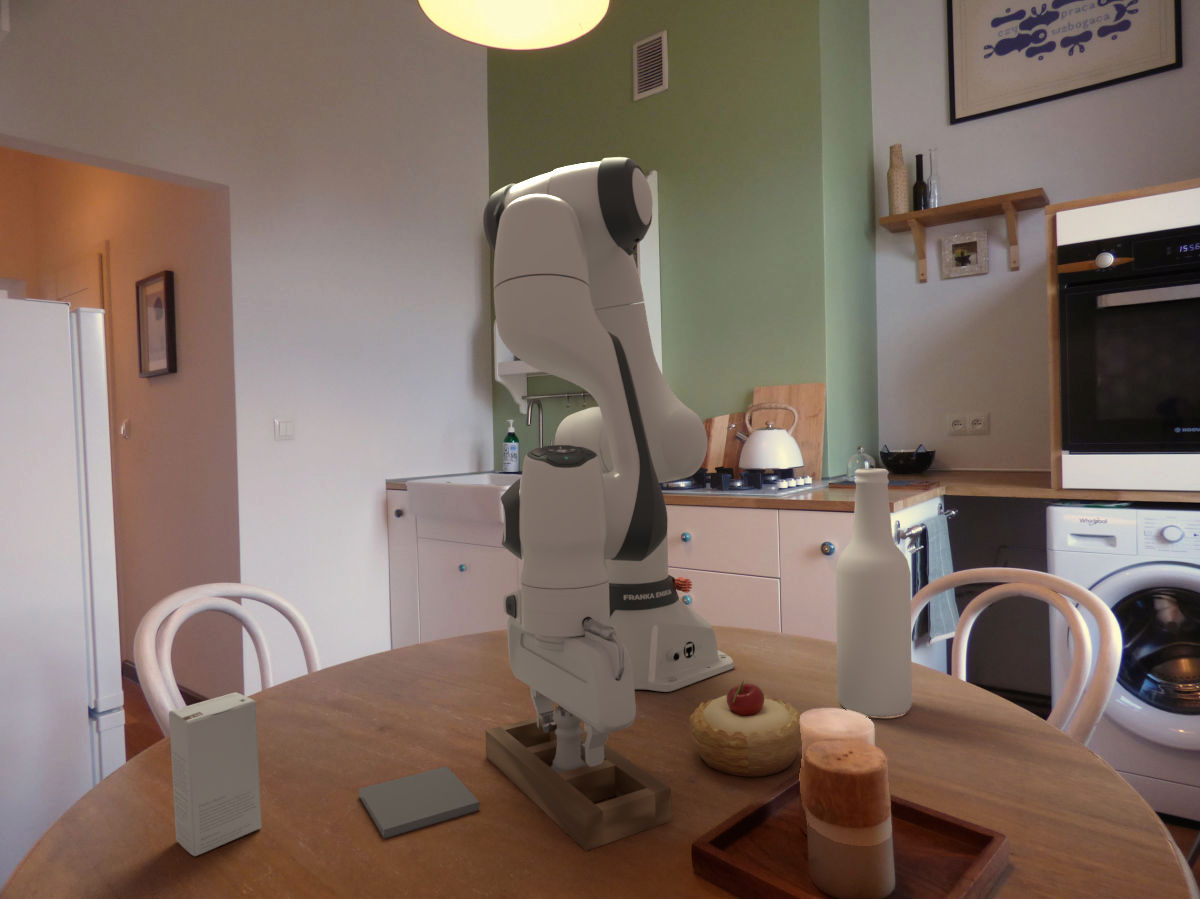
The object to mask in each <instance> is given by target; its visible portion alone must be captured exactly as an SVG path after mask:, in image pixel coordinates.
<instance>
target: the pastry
mask: <svg viewBox="0 0 1200 899" xmlns="http://www.w3.org/2000/svg"><path fill="white" fill-rule="evenodd" d="M744 682H745V680H743V681H741V682H740V684H738V685H735V686H734V687H732V688H731V689H730V690H729V691H728V693H727V694H726V695H724V694H723V695H722V696H720V697H717V698H715V699H709V700H707V701H706V702H703V701H702V702H701V703H700V704H699V705H698V707H696V708H695V710H694V711H693V712H692V714H691V715H690V717H689V719H688V720H689V727H690V735H691V740H692V743H693V745H694V747H695V750H696V751H697V754H698V755H699V756H700V757H701V758H702V760H703V761H704V762H705V764H706V765H708V767H710V768H712V769H714V770H716V771H719V772H721V773H724V774H729V775H732V776H736V777H737V776H738V777H739V776H741V777H748V778H749V777H750V778H751V777H752V778H753V777H765V776H769V775H774V774H778V773H780V772H782V771H784V770H785V769H788V768H789V766H791V765H792V764H793V762H794V761H795V760H796V758H797V756H798V754H799V753H800V750H801V747H802V744H801V733H800V724H799V719H800V715H801V716H802V714H801V713H800V711H798V709H797V708H795V706H793V705H792V704H791V703H790V702H789V701H788V702H785V701H784V700H783V699H782V698H778V697H777V698H776V699H773V698H771V696H770V695H769V694H764V692H763V690H762V689H761V688H760V687H759V686H758V685H756V684H753V683H744Z"/></svg>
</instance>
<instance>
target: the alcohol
mask: <svg viewBox="0 0 1200 899" xmlns="http://www.w3.org/2000/svg"><path fill="white" fill-rule="evenodd" d="M889 473H890V472H889V471H888V469H886V468H857V469H856V470H855V471H854V474H855V479H854V483H855V496H854V497H855V498H854V511H853V524H852V525H853V526H852V536H851V538H850V541H849V544H847V545H846V547H845V548H844V549H843V550H842V551H841V553H840V554H839V556H838V559H837V564H836V567H835V592H836V593H835V597H836V598H835V599H836V600H835V601H836V602H835V603H836V605H835V606H836V607H835V608H836V612H835V613H836V684H837V688H836V690H837V692H836V693H837V694H836V695H837V696H836V697H837V700H838V701H839V704H840V705H841V706H843V707H842V708H843V709H844V708H845V709H850V710H853V711H856V712H860V713H862V714H865V715H867V716H869V717H870V718H869V719H873V718H872V717H871V716H877V717H887V716H888V717H889V716H897V715H901V714H904V713H906V712H907V711H908V712H909V710H910V709H911V707H912V705H913V701H912V700H913V699H912V698H913V689H912V688H913V687H912V686H913V682H912V678H913V676H912V674H913V672H912V591H911V590H912V588H911V586H912V584H911V583H912V580H911V578H912V577H911V576H912V575H911V569H910V565H909V561H908V558H907V557H906V556H905V554H904V553H903V551H902V550H901V549H900V548H899V547H898V545H896V542H895V539H894V537H893V529H892V518H891V508H890V507H891V506H890V496H889V486H888V484H889V483H890V480H889V478H888V475H889ZM845 709H844V710H845ZM908 712H907V713H908ZM907 713H906V714H907Z"/></svg>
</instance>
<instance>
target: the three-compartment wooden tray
mask: <svg viewBox="0 0 1200 899" xmlns="http://www.w3.org/2000/svg"><path fill="white" fill-rule="evenodd" d="M580 728H581V729H582V730H583V733H582V734H581V744H582V743H585V742H586V738H587V734H588V732H586V731H585V729H584V728H583V727H581V726H580ZM484 733H485V757H486V758H487V759H488V761H490V762H491V763H492V764H493V765H494V766H495V767H496V768H498V769H499V770H500V771H501V772H502V774H504V775H505V777H507V778H508V779H509V780H510V781H511V782H512V783H513V784H514V785H516V786H517V788H518V789H520V790H521V791H522V792H523V793H524V795H526V796H527V797H528V798H529V799H530V800H531V801H532V802H533V803H534V804H536V805H537V807H538V808H540V809H541V810H542V811H543V812H544V813H545V814H546V815H547V816H548V817H549V818H550V819H551V820H552V821H554V822H555V823H556V824H557V826H559V827H560V828H561V829H562V831H564V832H565V833H566V834H567V835H568V836H569V837H570V838H571V839H572V840H573V841H575V842H576V844H578V845H579V846H580V847H581V848H582V849H583V851H585V852H588V851H590V850H594V849H596V848H599V847H602V846H605V845H607V844H610V843H613V842H616V841H618V840H622V839H624V838H626V837H630V836H633V835H635V834H639V833H641V832H643V831H647V830H649V829H653V828H655V827H657V826H660V825H663V824H666V823H669V822H672V788H671V787H669V786H668V785H667V784H665V783H663V782H662V781H661V780H659V779H657V778H656V777H655V776H653V775H652V774H650V772H648V771H646V770H645V769H643V768H641V767H640V766H638V764H635V763H634V762H632V761H631V760H629V759H628V758H626V757H625V756H623V755H622V754H621V753H619V752H618V751H616V750H615V749H614V748H612V747H611V746H609V745H607V744H606V743H605V745H604V761H603V763H602V764H600V765H596V766H593V767H590V766H589V765H587V766H583V767H580V768H576V769H573V770H569V771H566V772H563V773H559V774H558V773H556V772H555V771H554V770H553V769H551V768H550V767H551V766H552V765H553V764H552V763H553V760H554V759H555V756H556V748H557V735H556V734H555V731H549V732H547V733H546V732H543V731H542V730H541V729H539V728H538V727H537V717H532V718H529V719H524V720H520V721H517V722H512V723H508V724H504V725H499V726H495V727H491V728H487V729H485V732H484ZM612 797H614V798H612ZM610 798H612V799H610ZM606 799H609V800H606ZM603 800H606V801H603ZM599 801H601V802H599ZM602 801H603V802H602ZM597 802H599V803H597ZM595 803H596V804H595Z"/></svg>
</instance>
